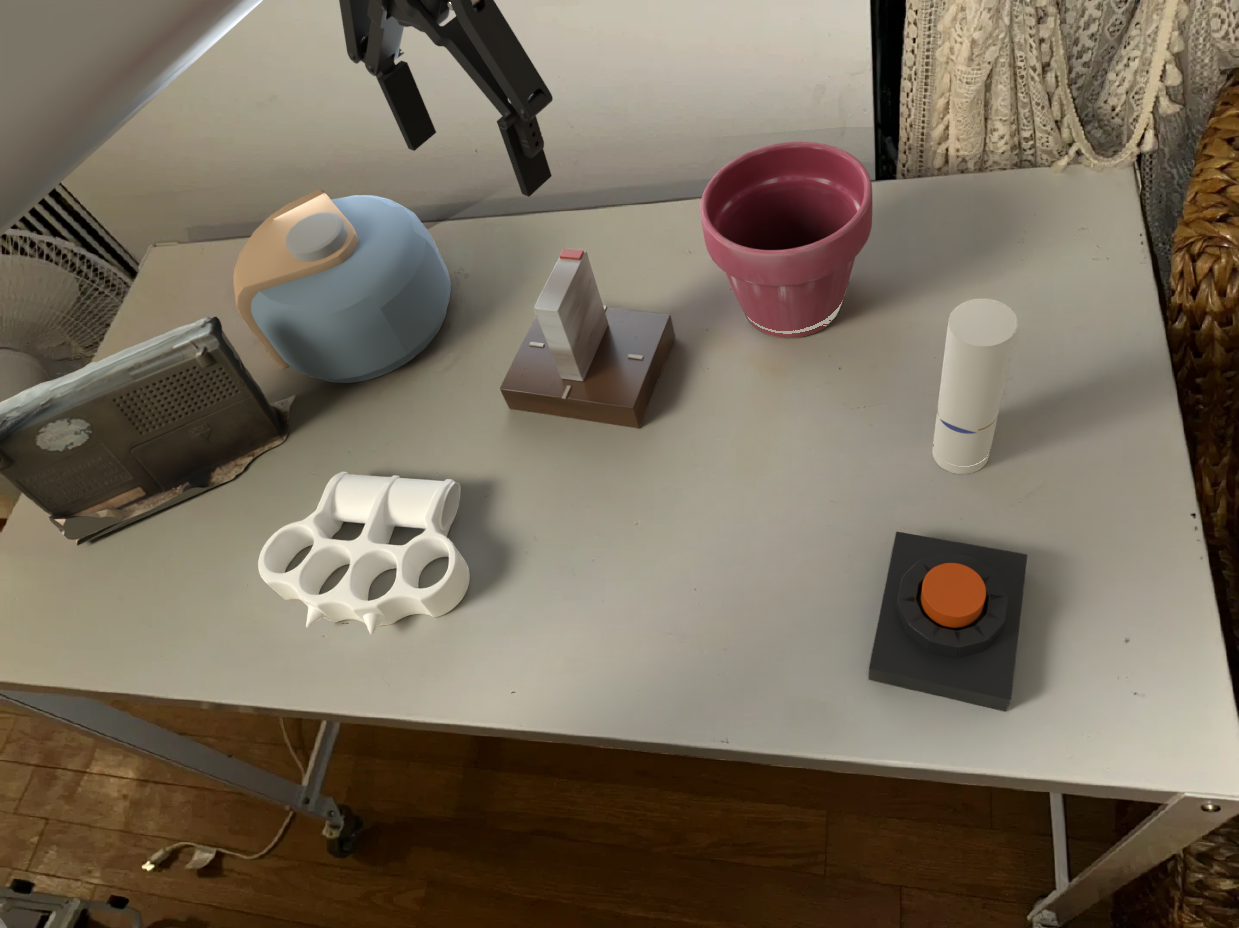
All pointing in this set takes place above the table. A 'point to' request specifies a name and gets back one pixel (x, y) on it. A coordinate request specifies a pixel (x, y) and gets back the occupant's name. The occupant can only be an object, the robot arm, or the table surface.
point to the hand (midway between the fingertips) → (477, 162)
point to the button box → (945, 656)
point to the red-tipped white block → (572, 314)
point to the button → (953, 595)
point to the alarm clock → (342, 286)
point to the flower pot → (788, 231)
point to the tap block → (595, 372)
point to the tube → (972, 383)
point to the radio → (137, 430)
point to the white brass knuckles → (370, 550)
